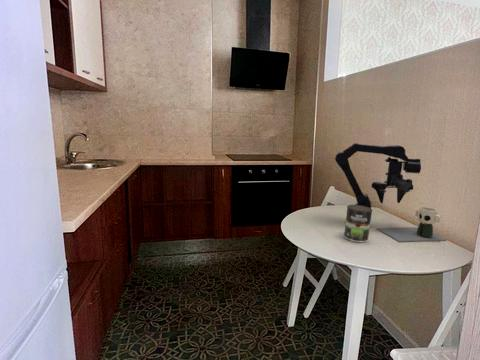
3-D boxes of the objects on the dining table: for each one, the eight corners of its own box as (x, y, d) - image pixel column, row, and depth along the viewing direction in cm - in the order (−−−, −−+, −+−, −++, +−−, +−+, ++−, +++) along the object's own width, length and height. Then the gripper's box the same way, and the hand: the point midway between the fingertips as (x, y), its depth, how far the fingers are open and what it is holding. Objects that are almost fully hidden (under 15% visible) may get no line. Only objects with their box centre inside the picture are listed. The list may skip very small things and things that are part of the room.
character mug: (408, 232, 138) (412, 206, 136) (417, 230, 142) (421, 204, 139) (431, 241, 129) (436, 212, 126) (441, 238, 132) (446, 211, 130)
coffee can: (368, 244, 124) (373, 212, 121) (343, 240, 128) (346, 209, 125) (367, 236, 133) (371, 206, 131) (344, 232, 137) (347, 203, 134)
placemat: (399, 242, 127) (399, 241, 127) (376, 229, 143) (376, 228, 143) (446, 240, 131) (446, 239, 131) (419, 228, 147) (419, 227, 147)
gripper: (387, 174, 130) (383, 208, 133) (424, 174, 133) (419, 207, 136) (372, 170, 141) (368, 201, 144) (407, 170, 144) (402, 201, 147)
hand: (389, 203), depth 142 cm, fingers open, 9 cm apart
